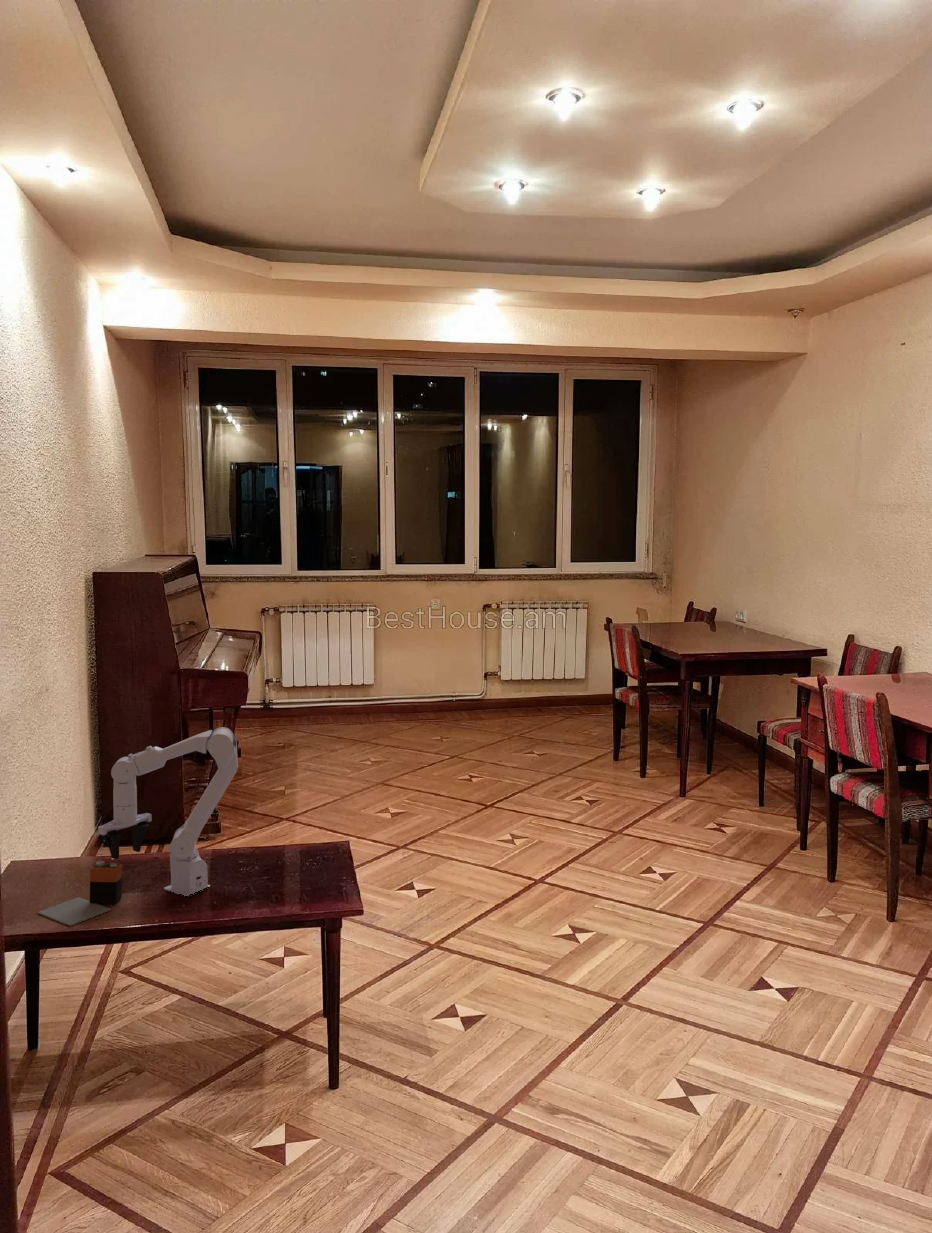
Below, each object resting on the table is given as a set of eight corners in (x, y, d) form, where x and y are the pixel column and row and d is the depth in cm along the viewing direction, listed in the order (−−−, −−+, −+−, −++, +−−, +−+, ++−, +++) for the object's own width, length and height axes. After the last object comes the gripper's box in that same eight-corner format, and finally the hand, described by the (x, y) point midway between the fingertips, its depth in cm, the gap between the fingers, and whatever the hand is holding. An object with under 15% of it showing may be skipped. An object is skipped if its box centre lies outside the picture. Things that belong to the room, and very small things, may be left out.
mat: (111, 910, 216) (111, 909, 216) (70, 926, 207) (70, 925, 207) (78, 898, 224) (78, 896, 224) (37, 913, 215) (37, 911, 215)
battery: (95, 897, 224) (96, 859, 224) (122, 898, 224) (123, 860, 224) (88, 903, 219) (89, 864, 219) (115, 904, 220) (116, 865, 219)
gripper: (139, 794, 234) (140, 843, 235) (90, 807, 222) (91, 859, 223) (156, 799, 230) (156, 849, 231) (107, 812, 218) (108, 864, 219)
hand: (126, 854), depth 227 cm, fingers open, 6 cm apart
